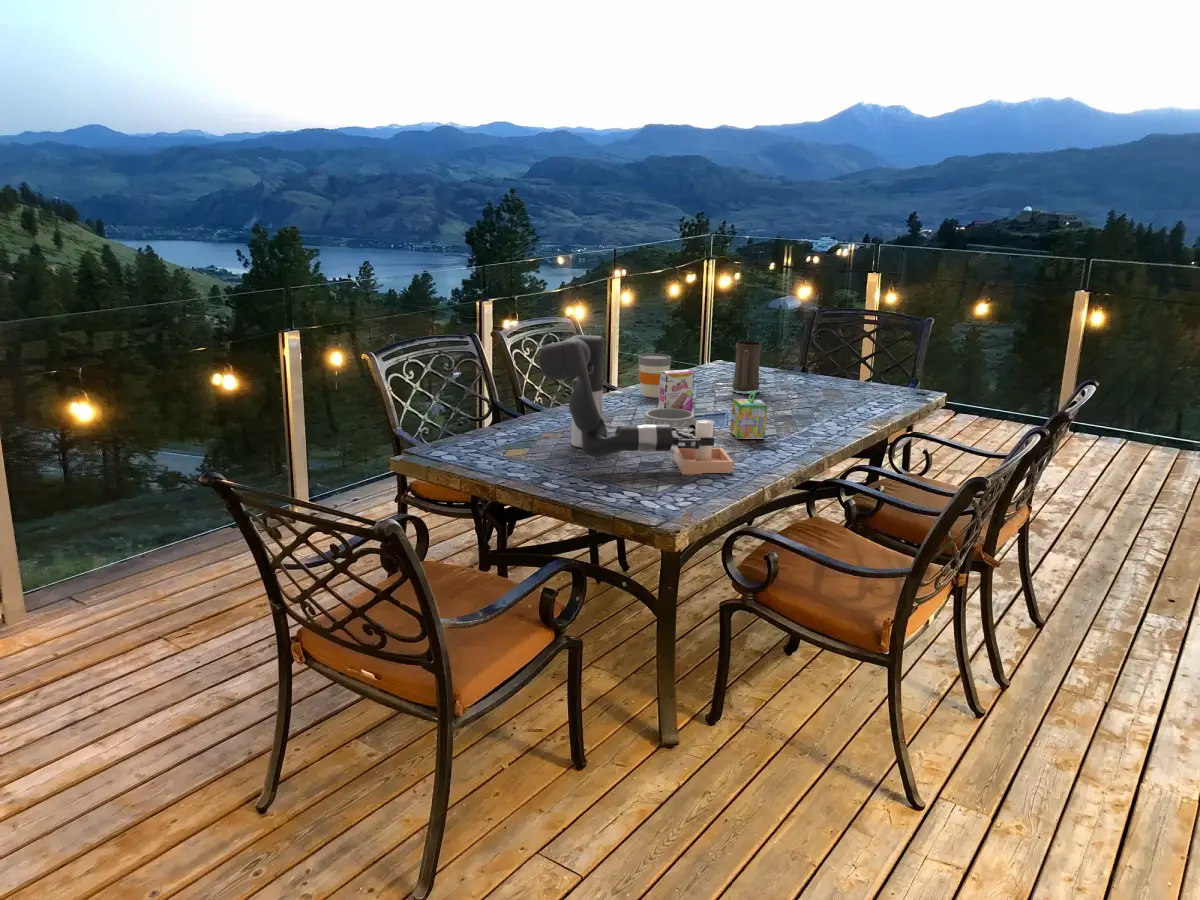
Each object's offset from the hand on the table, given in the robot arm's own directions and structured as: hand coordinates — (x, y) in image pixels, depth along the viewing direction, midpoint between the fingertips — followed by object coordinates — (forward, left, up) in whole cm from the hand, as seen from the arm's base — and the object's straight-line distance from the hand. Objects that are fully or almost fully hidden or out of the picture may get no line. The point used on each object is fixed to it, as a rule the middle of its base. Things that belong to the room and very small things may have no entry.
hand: (710, 437), depth 246 cm
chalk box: (-32, +19, -9) cm, 38 cm away
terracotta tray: (0, -2, -8) cm, 9 cm away
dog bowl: (-43, -4, -9) cm, 44 cm away
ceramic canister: (0, -2, -8) cm, 8 cm away
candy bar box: (-57, 0, -9) cm, 58 cm away
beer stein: (-97, +35, -9) cm, 104 cm away
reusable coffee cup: (-94, -2, -9) cm, 94 cm away
